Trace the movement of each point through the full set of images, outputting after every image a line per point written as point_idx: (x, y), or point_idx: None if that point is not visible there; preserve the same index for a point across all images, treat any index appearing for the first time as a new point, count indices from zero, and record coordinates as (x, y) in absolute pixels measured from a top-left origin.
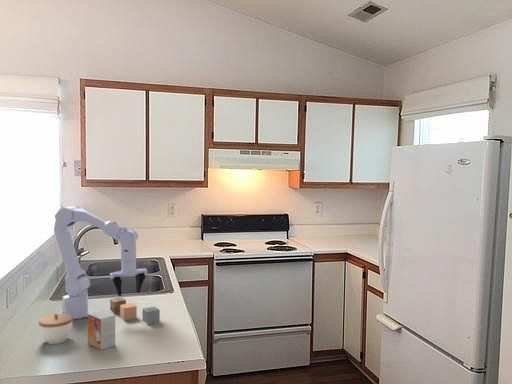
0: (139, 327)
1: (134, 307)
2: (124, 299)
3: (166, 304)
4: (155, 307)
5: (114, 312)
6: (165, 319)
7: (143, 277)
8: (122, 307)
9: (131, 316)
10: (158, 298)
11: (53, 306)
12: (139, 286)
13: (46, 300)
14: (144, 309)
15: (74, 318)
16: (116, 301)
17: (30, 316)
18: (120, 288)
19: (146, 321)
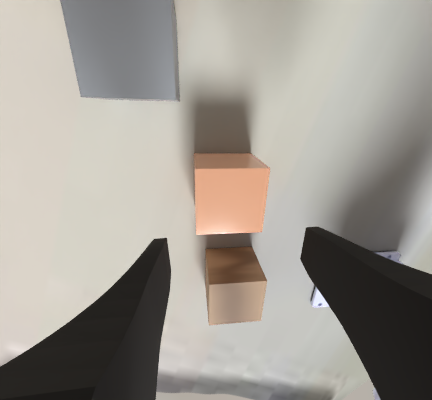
0: (226, 3)
1: (207, 166)
2: (212, 294)
3: (19, 257)
4: (80, 64)
5: (251, 249)
6: (54, 42)
7: (17, 384)
8: (266, 193)
9: (219, 155)
10: (47, 327)
11: (352, 359)
12: (148, 269)
13: (341, 394)
14: (169, 68)
15: (376, 253)
16: (253, 283)
17: None
18: (363, 257)
19: (175, 28)
